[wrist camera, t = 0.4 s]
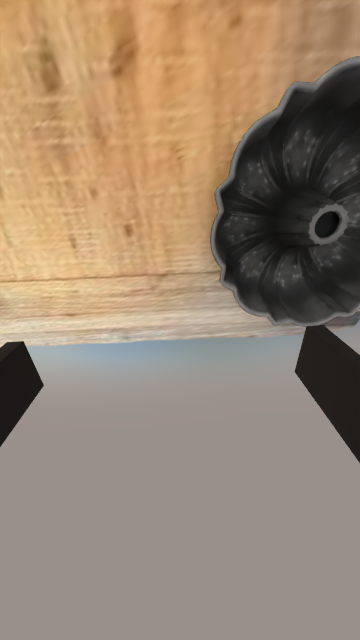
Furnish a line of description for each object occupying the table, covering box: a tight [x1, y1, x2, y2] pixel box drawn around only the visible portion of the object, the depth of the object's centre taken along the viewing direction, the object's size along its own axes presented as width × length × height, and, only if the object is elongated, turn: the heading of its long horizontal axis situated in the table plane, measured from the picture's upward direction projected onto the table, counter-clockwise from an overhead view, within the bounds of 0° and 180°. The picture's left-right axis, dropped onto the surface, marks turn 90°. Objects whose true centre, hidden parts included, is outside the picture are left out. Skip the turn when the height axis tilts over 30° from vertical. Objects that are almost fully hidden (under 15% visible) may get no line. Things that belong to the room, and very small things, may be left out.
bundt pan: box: [210, 56, 360, 327], centre depth 29 cm, size 26×26×10 cm
